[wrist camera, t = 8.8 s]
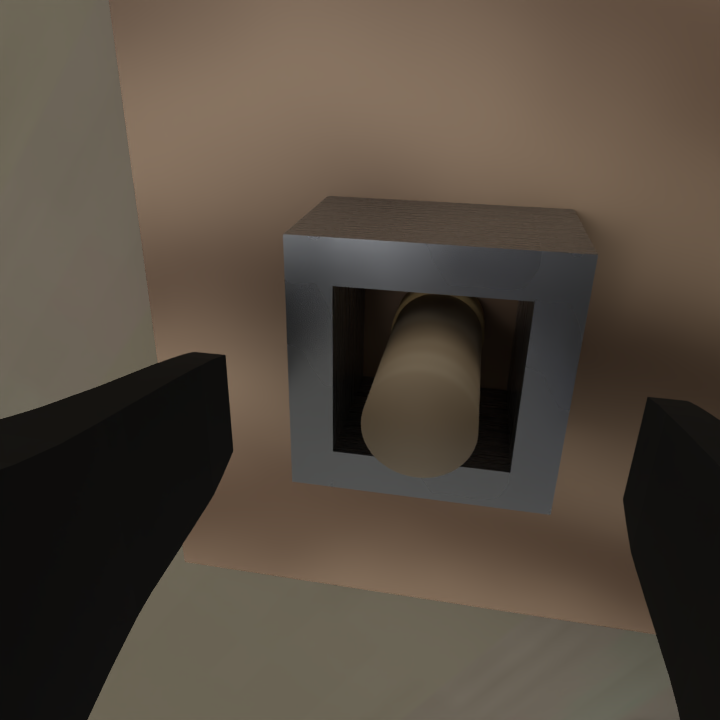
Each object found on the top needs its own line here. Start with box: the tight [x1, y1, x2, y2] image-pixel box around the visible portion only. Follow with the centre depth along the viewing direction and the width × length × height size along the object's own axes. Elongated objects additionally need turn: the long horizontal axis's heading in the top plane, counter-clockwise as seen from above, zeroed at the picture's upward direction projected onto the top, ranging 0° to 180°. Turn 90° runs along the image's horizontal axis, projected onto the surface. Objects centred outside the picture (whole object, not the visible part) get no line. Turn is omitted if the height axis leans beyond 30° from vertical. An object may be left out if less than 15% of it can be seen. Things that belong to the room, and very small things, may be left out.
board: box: [109, 0, 720, 634], centre depth 13 cm, size 18×15×6 cm
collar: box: [283, 196, 598, 515], centre depth 14 cm, size 5×5×4 cm
